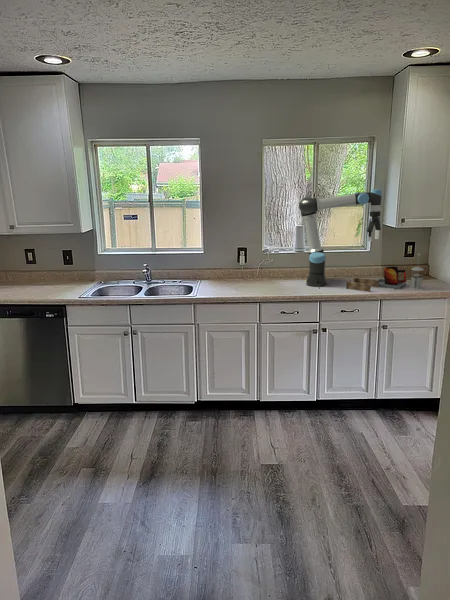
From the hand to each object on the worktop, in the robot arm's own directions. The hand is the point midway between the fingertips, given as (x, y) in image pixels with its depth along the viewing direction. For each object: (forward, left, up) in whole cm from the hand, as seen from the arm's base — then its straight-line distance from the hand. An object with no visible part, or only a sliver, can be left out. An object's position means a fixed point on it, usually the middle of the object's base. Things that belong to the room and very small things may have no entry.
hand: (373, 240), depth 318 cm
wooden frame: (+3, -22, -32) cm, 39 cm away
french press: (+34, -4, -32) cm, 47 cm away
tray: (+15, -4, -32) cm, 35 cm away
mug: (+19, -3, -30) cm, 36 cm away
